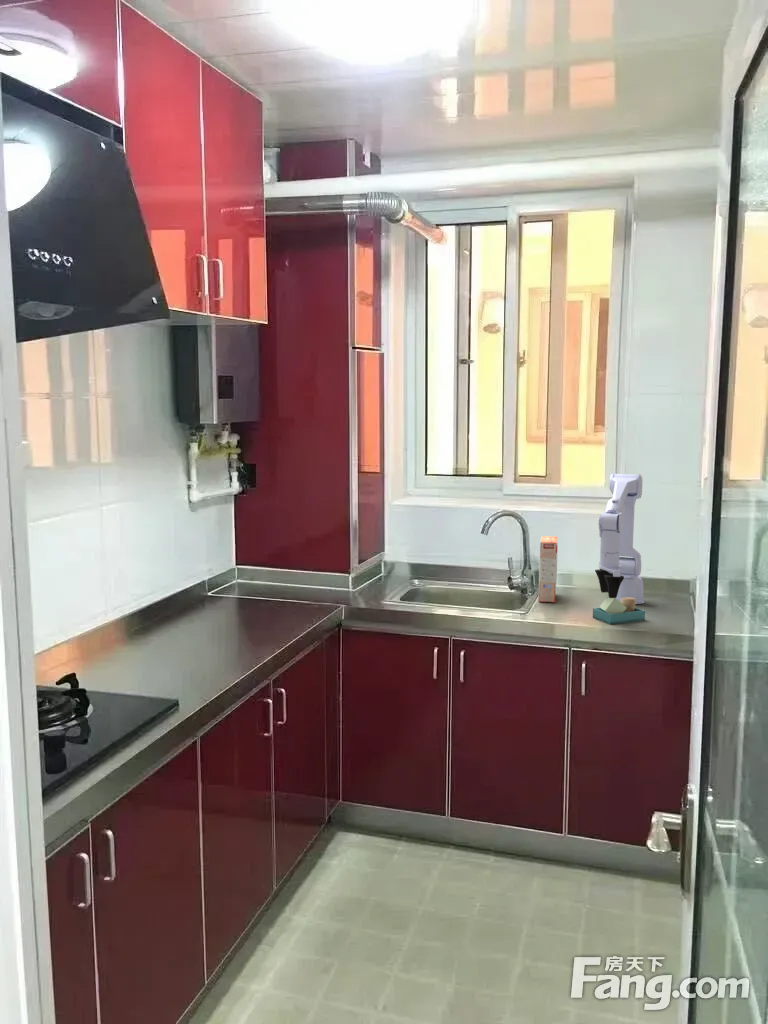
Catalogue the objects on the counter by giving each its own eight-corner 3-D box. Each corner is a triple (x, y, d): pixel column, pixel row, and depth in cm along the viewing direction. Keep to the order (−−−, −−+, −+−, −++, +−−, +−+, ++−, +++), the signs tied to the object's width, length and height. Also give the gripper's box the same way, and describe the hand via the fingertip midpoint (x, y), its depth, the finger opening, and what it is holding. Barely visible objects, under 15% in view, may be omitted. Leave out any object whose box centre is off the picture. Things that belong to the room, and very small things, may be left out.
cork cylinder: (628, 613, 279) (628, 596, 278) (637, 616, 275) (638, 599, 274) (617, 615, 277) (617, 598, 276) (626, 618, 273) (627, 600, 272)
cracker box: (556, 603, 296) (557, 542, 293) (538, 602, 297) (539, 541, 295) (556, 594, 310) (557, 535, 307) (539, 593, 311) (540, 535, 308)
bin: (626, 613, 281) (626, 604, 281) (644, 620, 273) (645, 610, 272) (592, 617, 276) (592, 608, 276) (610, 624, 268) (610, 614, 267)
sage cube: (599, 607, 274) (609, 594, 274) (611, 616, 275) (621, 603, 275) (604, 610, 269) (615, 598, 269) (616, 620, 270) (627, 607, 270)
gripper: (630, 555, 263) (629, 600, 265) (614, 547, 278) (613, 589, 279) (607, 556, 263) (606, 600, 265) (592, 548, 277) (591, 590, 279)
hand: (608, 595), depth 272 cm, fingers open, 7 cm apart
